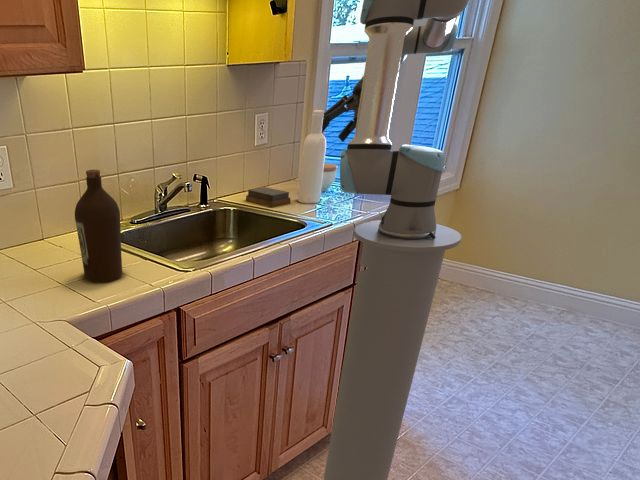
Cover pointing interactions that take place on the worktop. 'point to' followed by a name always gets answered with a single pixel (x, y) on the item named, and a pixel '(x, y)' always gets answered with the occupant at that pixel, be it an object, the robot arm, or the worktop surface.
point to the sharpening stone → (268, 197)
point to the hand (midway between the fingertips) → (327, 137)
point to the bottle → (313, 161)
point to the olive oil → (99, 231)
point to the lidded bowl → (328, 176)
